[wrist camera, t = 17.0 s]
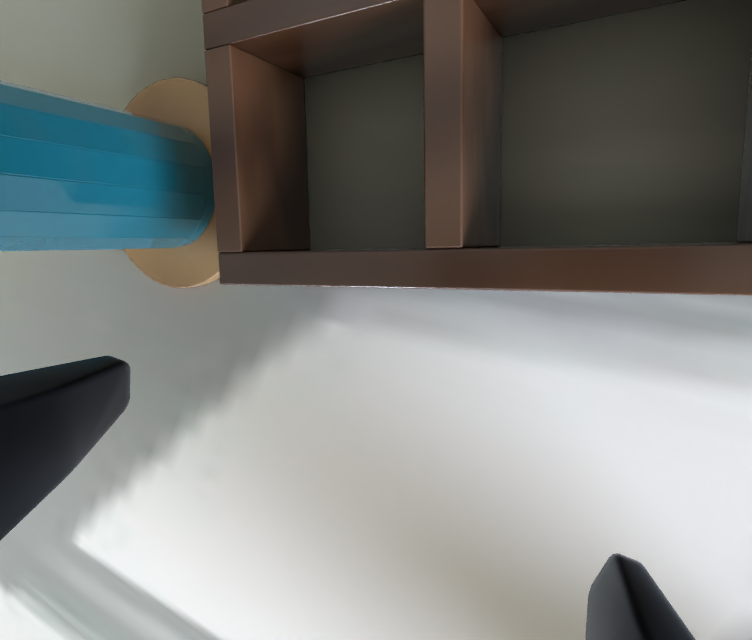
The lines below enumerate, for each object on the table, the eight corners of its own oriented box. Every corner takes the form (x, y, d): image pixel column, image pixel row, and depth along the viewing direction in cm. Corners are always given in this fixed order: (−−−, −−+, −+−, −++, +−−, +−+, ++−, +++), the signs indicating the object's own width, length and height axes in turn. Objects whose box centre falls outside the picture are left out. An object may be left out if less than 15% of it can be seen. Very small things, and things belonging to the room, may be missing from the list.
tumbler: (233, 216, 22) (-231, 191, 10) (156, 266, 24) (-286, 290, 13) (189, 100, 22) (-311, -52, 10) (117, 161, 24) (-350, 92, 13)
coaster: (266, 288, 22) (256, 290, 22) (125, 285, 26) (114, 286, 26) (254, 64, 21) (244, 59, 20) (108, 97, 25) (96, 94, 24)
